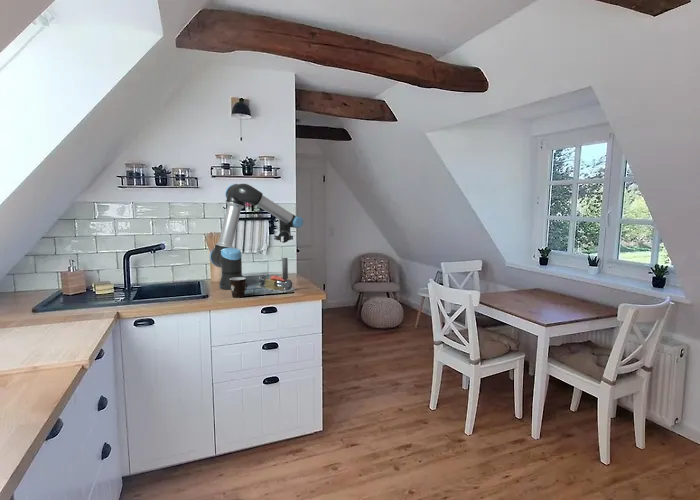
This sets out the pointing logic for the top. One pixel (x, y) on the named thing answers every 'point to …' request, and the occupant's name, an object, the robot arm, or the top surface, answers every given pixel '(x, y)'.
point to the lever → (284, 269)
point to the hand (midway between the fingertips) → (282, 239)
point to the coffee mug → (238, 287)
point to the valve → (274, 284)
